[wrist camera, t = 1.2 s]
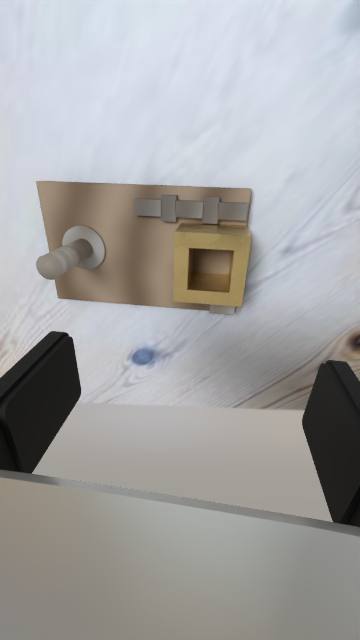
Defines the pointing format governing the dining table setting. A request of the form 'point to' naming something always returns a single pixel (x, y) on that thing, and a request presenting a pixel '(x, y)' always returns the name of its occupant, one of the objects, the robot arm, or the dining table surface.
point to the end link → (210, 284)
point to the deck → (130, 239)
